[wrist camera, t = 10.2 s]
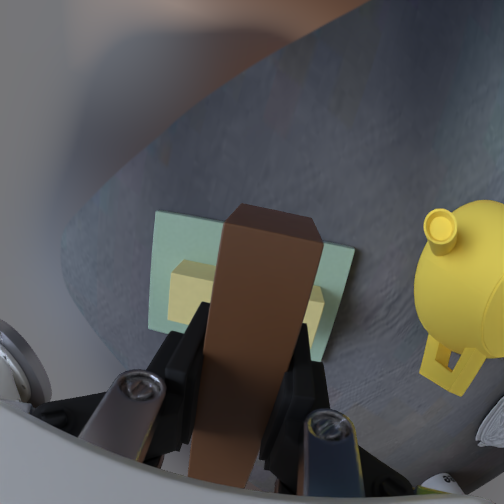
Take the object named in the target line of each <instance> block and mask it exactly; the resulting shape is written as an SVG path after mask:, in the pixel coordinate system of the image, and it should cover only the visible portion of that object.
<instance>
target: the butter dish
mask: <svg viewBox="0 0 504 504" xmlns="http://www.w3.org/2000/svg"><path fill="white" fill-rule="evenodd" d="M224 222H225V221H220V220H214V219H209V218H204V217H198V216H193V215H187V214H181V213H176V212H170V211H164V210H158V211H156V216H155V226H154V236H153V248H152V261H151V276H150V295H149V321H148V329H151V330H155V331H158V332H162V333H166V334H169V333H170V331H172V330H173V331H176V332H180V333H185V331H186V329H187V327H188V325H186V324H182V323H178V322H174V321H170V320H168V304H169V290H170V278H171V272H172V271H173V270H174V269H175V268H176V267H177V266H178V265H179V264H180V263H181V262H182V261H183V260H189V261H194V262H199V263H204V264H209V265H214V266H216V263H217V257H218V251H219V245H220V239H221V233H222V227H223V223H224ZM323 243H324V248H323V252H322V255H321V259H320V263H319V267H318V270H317V274H316V278H315V281H314V285H315V286H320V288H321V291H322V295H323V299H324V302H325V305H324V308H323V312H322V315H321V318H320V322H319V325H318V328H317V331H316V335H315V338H314V341H313V344H312V347H311V349H310V353H311V360H312V361H318V362H321V360H322V357H323V354H324V351H325V348H326V345H327V342H328V339H329V336H330V333H331V330H332V327H333V324H334V321H335V318H336V314H337V311H338V308H339V305H340V302H341V298H342V295H343V291H344V288H345V285H346V281H347V278H348V274H349V271H350V267H351V263H352V260H353V256H354V252H355V249H354V247H351V246H347V245H342V244H337V243H332V242H327V241H323Z"/></svg>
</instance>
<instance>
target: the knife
mask: <svg viewBox="0 0 504 504" xmlns="http://www.w3.org/2000/svg"><path fill="white" fill-rule="evenodd" d="M323 248H324V243H323V241H322V239H321V236H320V234H319V232H318V230H317V228H316V226H315V224H314V222H313V220H312V218H309V217H304V216H300V215H295V214H291V213H286V212H281V211H277V210H272V209H267V208H262V207H257V206H252V205H248V204H243V203H242V204H240V206H239V207H238V208H237V209H236V210H235V211H234V212H233V213H232V214H231V215H230V216H229V218H228V219H227V220H226V221H225V222H224V223H223V227H222V233H221V239H220V245H219V251H218V257H217V263H216V269H215V275H214V282H213V288H212V294H211V301H210V307H209V314H208V321H207V327H206V334H205V341H204V348H203V355H204V359H203V366H202V373H201V380H200V387H199V395H198V402H197V410H196V417H195V425H194V429H193V433H192V441H191V450H190V460H189V468H188V477H191V478H195V479H199V480H203V481H207V482H212V483H216V484H221V485H226V486H232V487H237V488H243V489H245V486H246V484H247V481H248V479H249V476H250V474H251V471H252V469H253V466H254V463H255V461H256V458H257V456H258V453H259V450H260V445H261V440H262V437H263V434H264V432H265V429H266V426H267V423H268V420H269V418H270V415H271V412H272V409H273V406H274V403H275V400H276V397H277V394H278V391H279V388H280V385H281V382H282V379H283V376H284V373H285V372H287V371H288V368H289V365H290V362H291V359H292V356H293V352H294V349H295V346H296V343H297V340H298V336H299V333H300V330H301V326H302V323H303V320H304V316H305V313H306V310H307V306H308V303H309V299H310V296H311V292H312V289H313V285H314V281H315V278H316V274H317V270H318V267H319V263H320V259H321V255H322V252H323Z"/></svg>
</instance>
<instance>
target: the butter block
mask: <svg viewBox="0 0 504 504" xmlns="http://www.w3.org/2000/svg"><path fill="white" fill-rule="evenodd" d="M324 305H325V302H324V299H323V295H322V291H321V288H320V286H315V285H313V289H312V292H311V296H310V299H309V303H308V306H307V310H306V313H305V316H304V320H303V323H307V327H308V336H309V344H310V349H311V347H312V344H313V341H314V338H315V335H316V331H317V328H318V325H319V322H320V318H321V315H322V312H323V308H324Z"/></svg>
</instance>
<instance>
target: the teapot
mask: <svg viewBox="0 0 504 504" xmlns="http://www.w3.org/2000/svg"><path fill="white" fill-rule="evenodd" d="M424 232H425V235H426V237H427V240H428V241H427V243H426V245H425V247H424V249H423V251H422V254H421V256H420V259H419V262H418V265H417V270H416V274H415V281H414V299H415V307H416V311H417V314H418V317H419V320H420V322H421V323H422V325H423V327H424V328H425V329H426V330H427V332H428V333H429V334H428V339H427V343H426V348H425V352H424V356H423V360H422V364H421V368H420V372H419V373H420V374H421V375H423V376H424V377H426V378H428V379H429V380H431V381H433V382H434V383H436V384H437V385H439V386H441V387H442V388H444V389H445V390H447V391H449V392H451V393H454V394H456V395H458V396H461V397H462V395H463V394H464V392H465V391H466V389H467V388H468V387H469V385H470V383H471V382H472V380H473V379H474V377H475V376H476V374H477V373H478V371H479V369H480V368H481V366H482V364H483V363H484V361H485V359H486V358H502V357H504V204H502V203H499V202H496V201H492V200H478V201H474V202H470V203H468V204H465V205H463V206H461V207H459V208H458V209H456V210H455V211H453V212H452V213H451V212H449V211H448V210H445V209H435V210H433V211H431V212H430V213H429V214H428V215H427V216H426V218H425V221H424ZM451 351H453V352H455V353H458V354H461V356H460V358H459V360H458V362H457V364H456V366H455V368H454V369H453V370H452V369H450V368H449V367H448V363H449V359H450V355H451Z"/></svg>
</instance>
